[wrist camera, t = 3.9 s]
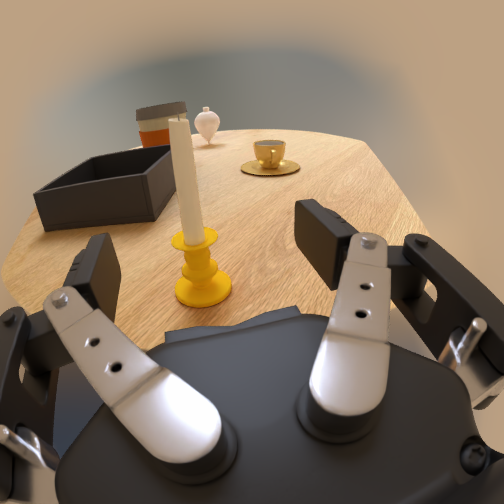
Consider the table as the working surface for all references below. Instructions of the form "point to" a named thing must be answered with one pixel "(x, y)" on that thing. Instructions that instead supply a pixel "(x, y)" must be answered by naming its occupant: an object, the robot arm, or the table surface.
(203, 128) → the spinning top
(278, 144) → the cup
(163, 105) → the reusable coffee cup
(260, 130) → the table surface
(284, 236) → the table surface
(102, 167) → the bin
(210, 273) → the candle
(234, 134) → the table surface
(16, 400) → the robot arm
